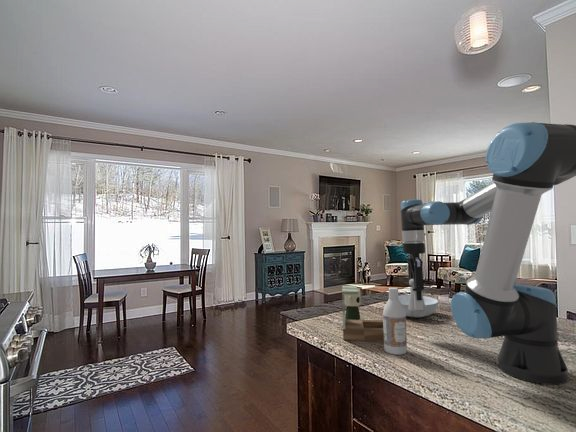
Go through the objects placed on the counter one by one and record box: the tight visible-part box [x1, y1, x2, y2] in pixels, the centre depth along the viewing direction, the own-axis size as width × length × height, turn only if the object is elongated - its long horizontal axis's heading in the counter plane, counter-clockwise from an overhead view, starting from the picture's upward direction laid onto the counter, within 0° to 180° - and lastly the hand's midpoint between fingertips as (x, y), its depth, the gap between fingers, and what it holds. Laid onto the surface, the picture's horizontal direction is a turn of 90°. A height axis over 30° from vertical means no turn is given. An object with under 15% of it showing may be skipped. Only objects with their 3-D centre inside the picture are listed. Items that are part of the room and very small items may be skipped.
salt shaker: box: [408, 279, 426, 318], centre depth 116 cm, size 6×6×13 cm
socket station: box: [341, 285, 384, 343], centre depth 119 cm, size 12×17×17 cm
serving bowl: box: [398, 294, 439, 318], centre depth 145 cm, size 21×21×7 cm
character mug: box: [345, 288, 362, 320], centre depth 138 cm, size 11×7×13 cm, turn 158°
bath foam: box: [382, 287, 408, 356], centre depth 104 cm, size 7×7×20 cm
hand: (416, 307), depth 115 cm, fingers closed on salt shaker, 6 cm apart
